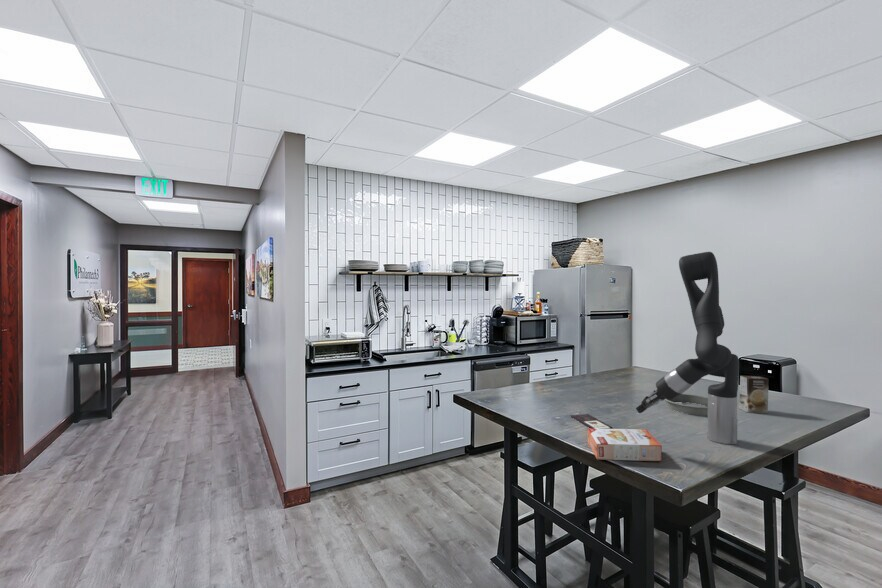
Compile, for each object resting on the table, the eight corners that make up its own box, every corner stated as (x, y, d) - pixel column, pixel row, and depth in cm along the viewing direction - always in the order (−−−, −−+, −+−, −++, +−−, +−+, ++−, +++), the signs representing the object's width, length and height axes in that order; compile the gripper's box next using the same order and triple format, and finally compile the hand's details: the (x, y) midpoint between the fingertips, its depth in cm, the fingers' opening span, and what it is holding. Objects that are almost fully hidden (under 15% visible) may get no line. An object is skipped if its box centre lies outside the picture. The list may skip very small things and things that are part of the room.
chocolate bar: (588, 414, 188) (612, 427, 170) (588, 416, 188) (612, 429, 170) (570, 415, 186) (592, 428, 168) (570, 417, 186) (592, 431, 168)
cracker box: (662, 444, 136) (596, 443, 139) (662, 461, 137) (596, 461, 139) (646, 427, 150) (586, 427, 153) (646, 444, 151) (587, 443, 153)
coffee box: (747, 412, 192) (747, 378, 192) (738, 408, 199) (739, 375, 199) (768, 413, 192) (769, 378, 191) (759, 409, 198) (759, 375, 198)
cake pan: (726, 420, 182) (727, 409, 182) (663, 412, 193) (663, 403, 193) (717, 405, 205) (717, 396, 204) (661, 399, 215) (661, 391, 215)
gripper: (674, 372, 148) (639, 399, 158) (657, 377, 140) (622, 405, 149) (690, 389, 144) (654, 416, 153) (674, 396, 135) (636, 423, 145)
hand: (638, 410), depth 151 cm, fingers closed
